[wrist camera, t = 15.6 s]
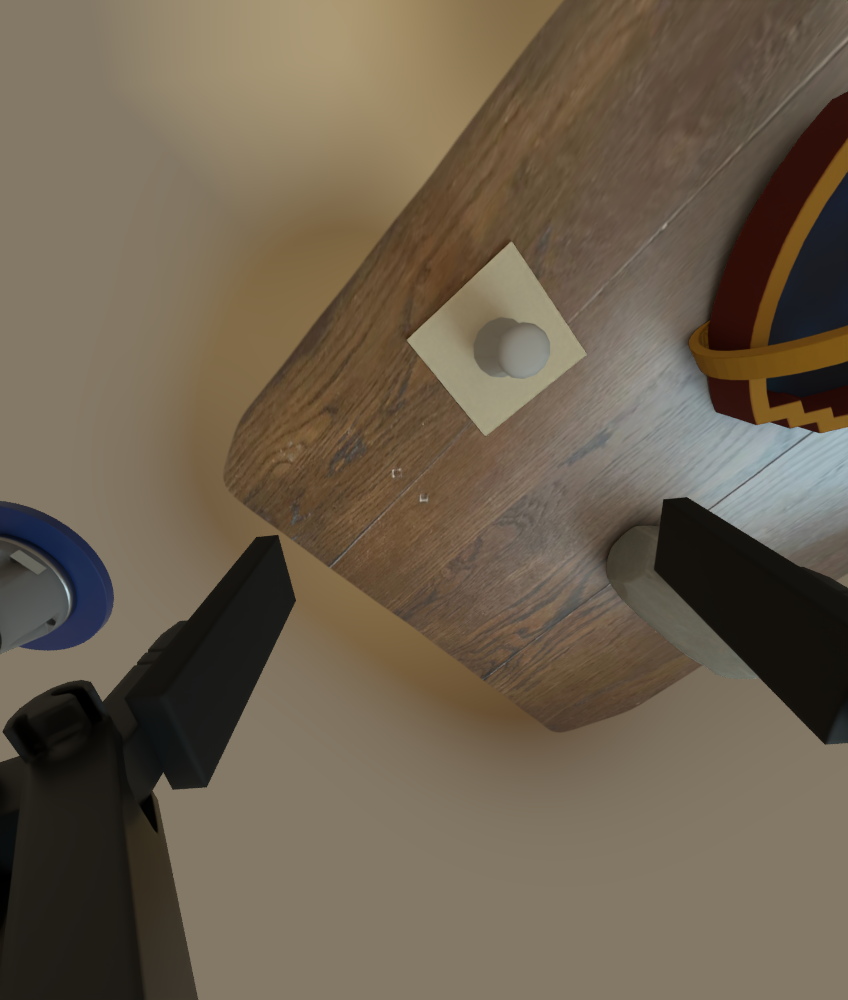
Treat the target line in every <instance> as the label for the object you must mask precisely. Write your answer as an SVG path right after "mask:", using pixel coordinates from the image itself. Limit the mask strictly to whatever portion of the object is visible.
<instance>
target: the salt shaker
mask: <svg viewBox="0 0 848 1000" xmlns="http://www.w3.org/2000/svg"><path fill="white" fill-rule="evenodd" d="M549 356H550V341H549V339H548V337H547V335H546V332H545V331H544V330H542V329H541V328H539V327H538V326H537V325H535V324H532V323H525V322H522V323H518V322H517V321H516V320H514V319H511V318H504V317H499V318H497V319H494V320H491V321H489V322H487V323H486V324H485V325H484V326H483V327H482V328H481V329H480V330H479V331H478V334H477V336H476V339H475V342H474V359H475V361H476V362H477V364H478V366H479V368H480V369H481V370H482V371H484V372H485V373H486V374H488V375H489V376H492V377H502V378H503V377H506V376H510V377H512V378H520V379H524V378H527V377H530V376H533V375H536V374H537V373H538V372H539V371H540V370H541V369H542V368H543V367H544V366H545V365H546V362H547V360H548V358H549Z"/></svg>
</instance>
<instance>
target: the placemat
mask: <svg viewBox="0 0 848 1000" xmlns="http://www.w3.org/2000/svg"><path fill="white" fill-rule="evenodd" d="M499 317H504V318H511V319H514V320H516V321H517V322H518V323H522V322H525V323H532V324H535V325H537V326H538V327H539V328H541V329H542V330H544V331H545V332H546V335H547V337H548V339H549V341H550V356H549V358H548V360H547V362H546V365H545V366H544V367H543V368H542V369H541V370H540V371H539V372H538V373H537V374H536V375H533V376H530V377H527V378H524V379H520V378H512V377H510V376H506V377H503V378H502V377H492V376H489V375H488V374H486V373H485V372H484V371H482V370H481V369H480V368H479V366H478V364H477V362H476V361H475V359H474V342H475V339H476V336H477V334H478V331H479V330H480V329H481V328H482V327H483V326H484V325H485V324H486V323H487V322H489V321H491V320H494V319H497V318H499ZM407 341H408V343H409V344H410V345H411V346H412V348H413V349H414V350H415V351H416V352H417V354H418V355H419V356H420V357H421V359H422V360H423V361H424V362H425V363H426V365H427V366H428V367H429V368H430V370H431V371H432V372H433V373H434V374H435V376H436V377H437V378H438V379H439V381H440V382H441V383H442V384H443V385H444V387H445V388H446V389H447V390H448V392H449V393H450V394H451V395H452V397H453V398H454V399H455V400H456V401H457V403H458V404H459V405H460V406H461V408H462V409H463V410H464V411H465V412H466V414H467V415H468V416H469V417H470V419H471V420H472V421H473V422H474V423H475V425H476V426H477V427H478V428H479V430H480V431H481V432H482V433H483V434H484V436H487V435H488V434H489V433H490V432H492V431H493V430H494V429H495V428H496V427H498V426H499V425H500V424H501V423H503V422H504V421H505V420H506V419H508V418H509V417H510V416H511V415H513V414H514V413H515V412H516V411H517V410H519V409H520V408H521V407H522V406H524V405H525V404H526V403H527V402H529V401H530V400H531V399H532V398H534V397H535V396H536V395H537V394H538V393H540V392H541V391H542V390H543V389H545V388H546V387H547V386H548V385H550V384H551V383H552V382H553V381H555V380H556V379H557V378H558V377H559V376H561V375H562V374H563V373H564V372H566V371H567V370H568V369H569V368H571V367H572V366H573V365H574V364H576V363H577V362H578V361H579V360H580V359H582V358H583V357H584V356H585V355H587V354H586V352H585V351H584V349H583V348H582V346H581V345H580V343H579V342H578V340H577V339H576V337H575V336H574V334H573V333H572V331H571V330H570V328H569V327H568V325H567V324H566V322H565V321H564V319H563V318H562V316H561V315H560V313H559V312H558V310H557V309H556V307H555V306H554V304H553V303H552V301H551V300H550V298H549V297H548V295H547V294H546V292H545V291H544V289H543V288H542V286H541V285H540V283H539V281H538V280H537V278H536V277H535V275H534V274H533V272H532V271H531V269H530V268H529V266H528V265H527V263H526V262H525V260H524V259H523V257H522V256H521V254H520V253H519V251H518V250H517V248H516V247H515V245H514V244H513V242H512V241H511V242H510V243H509V244H508V245H507V246H506V247H505V248H503V249H502V250H501V251H500V252H499V253H498V254H497V255H496V256H495V257H494V258H493V259H492V260H491V261H490V262H489V263H488V264H487V265H485V266H484V267H483V268H482V269H481V270H480V271H479V272H478V273H477V274H476V275H475V276H474V277H473V278H472V279H471V280H470V281H469V282H467V283H466V284H465V285H464V286H463V287H462V288H461V289H460V290H459V291H458V292H457V293H456V294H455V295H454V296H453V297H452V298H450V299H449V300H448V301H447V302H446V303H445V304H444V305H443V306H442V307H441V308H440V309H439V310H438V311H437V312H436V313H435V314H434V315H432V316H431V317H430V318H429V319H428V320H427V321H426V322H425V323H424V324H423V325H422V326H421V327H420V328H419V329H418V330H417V331H416V332H414V333H413V334H412V335H411V336H410V337H409V338H408V339H407Z"/></svg>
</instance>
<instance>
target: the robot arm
mask: <svg viewBox="0 0 848 1000" xmlns="http://www.w3.org/2000/svg"><path fill="white" fill-rule="evenodd" d="M654 571H655V572H656V573H657V574H658V575H659V576H660V577H661V578H662V579H663V580H664V581H665V582H666V583H667V584H668V585H669V586H670V587H671V588H672V589H673V590H674V591H675V592H676V593H677V594H678V595H679V596H680V597H681V598H682V599H683V600H684V601H685V602H686V603H687V604H688V605H689V606H690V607H691V608H692V609H693V610H694V611H695V612H696V613H697V614H698V615H699V616H700V617H701V619H702V620H703V621H704V622H705V623H706V624H707V625H708V626H709V627H710V628H711V629H712V630H713V631H714V632H715V633H716V634H717V635H718V636H719V637H720V638H721V639H722V640H723V641H724V642H725V643H726V644H727V645H728V646H729V647H730V648H731V649H732V650H733V651H734V652H735V653H736V654H737V655H738V656H739V657H740V658H741V659H742V660H743V661H744V662H745V663H746V664H747V665H748V667H749V668H750V669H751V670H752V671H753V672H754V673H755V674H756V675H757V676H758V677H759V678H760V679H761V680H762V681H763V682H764V683H765V684H766V685H767V686H768V687H769V688H770V689H771V690H772V691H773V692H774V693H775V694H776V695H777V696H778V697H779V698H780V699H781V700H782V701H783V702H784V703H785V704H786V705H787V706H788V707H789V708H790V709H791V710H792V711H793V712H794V713H795V715H796V716H797V717H798V718H799V719H800V720H801V721H802V722H803V723H804V724H805V725H806V726H807V727H808V728H809V729H810V730H811V731H812V732H813V733H814V734H815V735H816V736H817V737H818V738H819V739H820V740H821V741H822V742H823V743H824V744H839V743H848V588H847V587H845V586H843V585H842V584H840V583H838V582H837V581H835V580H833V579H832V578H830V577H828V576H825V575H823V574H820V573H817V572H815V571H812V570H810V569H807V568H805V567H799V566H797V565H796V564H794V563H792V562H791V561H789V560H788V559H786V558H784V557H783V556H781V555H779V554H778V553H776V552H775V551H773V550H771V549H770V548H768V547H767V546H765V545H763V544H762V543H760V542H758V541H757V540H755V539H754V538H752V537H750V536H749V535H747V534H746V533H744V532H742V531H741V530H739V529H737V528H736V527H734V526H733V525H731V524H729V523H728V522H726V521H724V520H723V519H721V518H720V517H718V516H716V515H715V514H713V513H712V512H710V511H708V510H707V509H705V508H703V507H702V506H700V505H699V504H697V503H695V502H694V501H692V500H691V499H689V498H687V497H684V498H673V499H663V507H662V514H661V521H660V528H659V535H658V542H657V550H656V557H655V564H654ZM295 601H296V599H295V596H294V592H293V588H292V584H291V581H290V577H289V573H288V570H287V566H286V562H285V559H284V555H283V551H282V547H281V544H280V540H279V536H278V535H273V536H264V537H256V538H255V540H254V541H253V542H252V543H251V544H250V546H249V547H248V548H247V549H246V550H245V552H244V553H243V554H242V555H241V557H240V558H239V559H238V560H237V561H236V563H235V564H234V565H233V566H232V568H231V569H230V570H229V571H228V572H227V574H226V575H225V576H224V577H223V578H222V580H221V581H220V582H219V583H218V584H217V586H216V587H215V588H214V590H213V591H212V592H211V593H210V594H209V595H208V597H207V598H206V599H205V600H204V602H203V603H202V604H201V605H200V607H199V608H198V609H197V610H196V611H195V613H194V614H193V615H192V616H191V617H190V619H189V620H188V621H179V622H178V623H177V624H175V625H174V626H172V627H171V628H170V629H168V630H167V631H166V632H164V633H163V634H162V635H161V636H160V637H159V638H158V639H157V640H156V641H155V642H154V644H153V645H152V646H151V647H150V648H149V649H148V653H145V654H144V655H143V656H142V657H141V659H140V660H139V661H138V662H137V665H136V666H134V667H133V668H132V669H131V670H130V671H129V672H128V673H127V675H126V676H125V677H124V678H123V679H122V680H121V682H120V683H119V684H118V685H117V686H116V687H115V688H114V690H113V691H112V692H111V693H110V694H109V695H108V696H107V698H106V699H105V700H104V701H103V702H102V700H101V699H100V697H99V695H98V693H97V692H96V690H95V688H94V686H93V685H92V683H91V682H88V681H84V680H79V681H73V682H67V683H65V684H62V685H59V686H56V687H54V688H52V689H50V690H48V691H46V692H44V693H42V694H40V695H38V696H37V697H35V698H33V699H32V700H31V701H29V702H28V703H27V704H25V705H24V706H23V707H21V708H20V709H19V710H18V711H17V712H16V713H15V714H14V715H13V716H12V717H11V718H10V719H9V720H8V722H7V724H6V726H5V728H4V730H3V733H4V735H5V736H6V737H7V739H8V740H9V741H10V743H11V744H12V746H13V747H14V748H15V750H16V751H17V753H18V754H19V755H20V756H18V757H15V758H12V759H9V760H6V761H3V762H0V1000H198V997H197V992H196V987H195V982H194V977H193V972H192V967H191V962H190V957H189V952H188V947H187V942H186V937H185V932H184V928H183V922H182V917H181V913H180V908H179V903H178V898H177V893H176V888H175V883H174V878H173V873H172V868H171V863H170V859H169V854H168V849H167V843H166V839H165V834H164V829H163V824H162V819H161V814H160V809H159V804H158V800H157V798H156V796H155V794H154V793H153V791H152V790H153V788H154V787H155V785H156V783H157V782H158V780H159V778H160V777H161V775H162V773H163V772H164V774H165V776H166V778H167V780H168V782H169V784H170V785H171V787H172V789H173V790H174V789H188V788H202V787H207V785H208V783H209V781H210V779H211V777H212V775H213V773H214V771H215V769H216V766H217V764H218V763H219V760H220V758H221V756H222V754H223V752H224V750H225V748H226V746H227V744H228V742H229V739H230V737H231V735H232V733H233V731H234V729H235V727H236V725H237V723H238V721H239V719H240V716H241V714H242V712H243V710H244V708H245V706H246V704H247V702H248V700H249V697H250V695H251V693H252V691H253V689H254V687H255V685H256V683H257V681H258V679H259V677H260V674H261V673H262V670H263V668H264V666H265V664H266V662H267V660H268V658H269V656H270V654H271V652H272V650H273V647H274V645H275V643H276V641H277V639H278V637H279V635H280V633H281V631H282V629H283V626H284V624H285V622H286V620H287V618H288V616H289V614H290V612H291V610H292V608H293V606H294V603H295ZM76 603H77V594H76V589H75V586H74V583H73V581H72V579H71V577H70V575H69V574H68V572H67V571H66V570H65V568H64V567H63V566H62V565H61V564H60V563H59V562H58V561H57V560H56V559H55V558H54V557H53V556H52V555H51V554H49V553H48V552H47V551H45V550H44V549H42V548H41V547H39V546H37V545H35V544H33V543H31V542H29V541H27V540H25V539H22V538H19V537H16V536H12V535H8V534H1V533H0V654H2V653H4V652H7V651H9V650H11V649H14V648H16V647H18V646H21V645H23V644H26V643H28V642H30V641H33V640H35V639H37V638H40V637H42V636H44V635H47V634H48V633H50V632H52V631H53V630H55V629H57V628H58V627H59V626H61V625H62V624H63V623H64V622H66V621H67V620H68V619H69V618H70V617H71V616H72V614H73V612H74V610H75V608H76Z"/></svg>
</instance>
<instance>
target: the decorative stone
mask: <svg viewBox="0 0 848 1000" xmlns="http://www.w3.org/2000/svg"><path fill="white" fill-rule="evenodd" d="M659 528H660V527H659V526H649V525H646V526H635V527H633V528H631V529H630V530H628V531H627V532H626V533H625V534H624V535H623V536H622V537H621V538H620V539H619V540H618V541H617V542H615V544H614V545H613V546H612V548H611V550H610V553H609V555H608V559H607V564H606V573H607V578H608V580H609V582H610V583H611V585H612V586H613V588H614V589H615V591H616V592H617V594H618V595H619V596H620V597H621V599H622V600H623V601H624V602H625V603H626V604H627V605H628V606H629V607H630V608H632V609H633V610H634V611H635V612H636V613H637V614H638V615H639V616H640V617H641V618H642V619H643V620H645V621H646V622H647V623H648V624H649V625H650V626H651V627H653V628H654V629H655V630H656V631H657V632H658V633H659V634H661V635H662V636H663V637H664V638H665V639H667V640H668V641H669V642H670V643H671V644H673V645H674V646H675V647H676V648H677V649H679V650H680V651H681V652H682V653H684V654H686V655H687V656H688V657H690V658H691V659H693V660H694V661H696V662H698V663H700V664H702V665H703V666H705V667H707V668H708V669H710V670H711V671H712V672H714V673H715V674H717V675H720V676H723V677H727V678H735V679H753V678H759V677H758V676H757V675H756V674H755V673H754V672H753V671H752V670H751V669H750V668H749V667H748V665H747V664H746V663H745V662H744V661H743V660H742V659H741V658H740V657H739V656H738V655H737V654H736V653H735V652H734V651H733V650H732V649H731V648H730V647H729V646H728V645H727V644H726V643H725V642H724V641H723V640H722V639H721V638H720V637H719V636H718V635H717V634H716V633H715V632H714V631H713V630H712V629H711V628H710V627H709V626H708V625H707V624H706V623H705V622H704V621H703V620H702V619H701V617H700V616H699V615H698V614H697V613H696V612H695V611H694V610H693V609H692V608H691V607H690V606H689V605H688V604H687V603H686V602H685V601H684V600H683V599H682V598H681V597H680V596H679V595H678V594H677V593H676V592H675V591H674V590H673V589H672V588H671V587H670V586H669V585H668V584H667V583H666V582H665V581H664V580H663V579H662V578H661V577H660V576H659V575H658V574H657V573H656V572H655V571H654V564H655V557H656V550H657V542H658V535H659Z"/></svg>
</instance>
